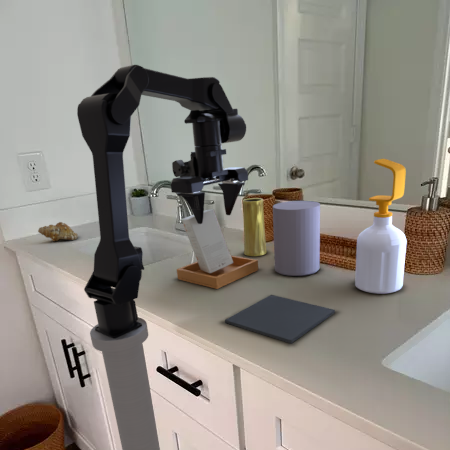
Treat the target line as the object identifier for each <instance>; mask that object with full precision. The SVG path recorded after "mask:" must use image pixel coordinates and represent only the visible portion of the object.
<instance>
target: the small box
mask: <svg viewBox="0 0 450 450" xmlns="http://www.w3.org/2000/svg"><path fill="white" fill-rule="evenodd" d="M215 211H216V210H215V209H213V208H211V209H204V214H203V222H202V224H198V223H197V221H196V219H195V216H194V214H191V215H189V216H186V217H184V218H182V219H181V224H182V225H183V226H182V227H183V228H184V231H185V234H186V236H187V239H188V241H189V243H190V246H191V248H192V251H193V254H194V257H195V259H196V262H198V264H199V267H200V269H201V270H202V271H205V272H207V273H212V272H215V271H217V270H219V269H221V268H224V267H226V266H228V265H230V264H232V263H234V262H233V260H232V257H231V254H232V253H231V252H230V249H229V246H228V244H227V241H226V238H225V236H224V232H223V230H222V228H221V225H220V222H219V219H218V216H217V214H216V212H215Z"/></svg>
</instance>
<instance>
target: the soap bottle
mask: <svg viewBox="0 0 450 450" xmlns="http://www.w3.org/2000/svg"><path fill="white" fill-rule="evenodd" d="M373 164H375V165H376V166H380V167H383V168H385V169H387V170H390V171H391V172H392V177H393V178H392V189H391V190H392V192H391V193H392V194H391V195H381V194H380V195H379V194H378V195H374V196H370V197H369V198H368V201H370V202H375V205H376V206H378V211H374V212H373V222H372V225H370V226H368V227H366V228H365V229H363V230H362V231H361V232H360V233H358V235H357V238H356V253H355V275H354V276H355V277H354V278H355V279H354V286H355V287H356V288H357V289H358V290H360V291H363V292H365V293H370V294H377V295H379V294H382V295H383V294H392V293H395V292H398V291H400V290H401V289H402V288H403V285H404V276H405V275H404V274H405V261H406V252H407V243H408V242H407V241H408V240H407V238H406V235H405V233H404V232H403V230H401V229H399V228H398V227H396V226H394V225H393V224H392V223H393V212H392V211H389V206H391V205H392V202H393V201H396V200H398V199H401V198H402V197H403V196H404V195H405V188H406V187H405V186H406V177H407V176H406V175H407V170H406V167H405V166H404V165H403V164H401V163H398V162H395V161H392V160H391V159H387V158H379V159H375V160H374V161H373Z"/></svg>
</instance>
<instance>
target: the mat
mask: <svg viewBox="0 0 450 450" xmlns="http://www.w3.org/2000/svg"><path fill="white" fill-rule="evenodd" d="M335 312H336V310H335V309H332V308H329V307H325V306H321V305H317V304H312V303H308V302H303V301H300V300H295V299H291V298H287V297H284V296H283V297H282V296H279V295H274V294H270V295H268V296H266V297H264V298H263V299H261V300H259V301H257V302H256V303H253V304H252V305H250V306H248V307H246V308H244V309H242V310H240V311H238V312H236V313H235V314H233V315H231V316H230V317H228V318H226V319H224V324H228V325H231V326H235V327H237V328H240V329H244V330H246V331H250V332H253V333H256V334H259V335H263V336H265V337H269V338H272V339H275V340H278V341H281V342H285V343H287V344H293V343H294V342H296V341H297V340H298V339H300V338H302V337H303V336H304V335H305V334H307V333H308V332H310V331H312V330H313V329H314V328H316V327H317V326H318V325H320V324H321V323H322V322H324V321H325V320H327V319H328V318H330V317H332V315H334V314H335Z"/></svg>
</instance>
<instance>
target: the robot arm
mask: <svg viewBox="0 0 450 450" xmlns="http://www.w3.org/2000/svg"><path fill="white" fill-rule="evenodd" d="M113 73H114V74H113V75H112V76H111V77H110V78H109V79H108V80H107V81H106V82H104V83H103V84H102V85H100V87H98V88H97V89H96V90H95V91H94V92H93V93H91V95H90V96H86V97H84V98H83V99H82V100H81V101H80V102H79V103H78V105H77V110H76V112H77V113H76V114H77V120H78V125H79V128H80V132H81V136H82V138H83V140H84V142H85V143H86V145H87V147H88V148H89V150H90V152H91V155H92V165H93V173H94V175H93V176H94V184H95V193H96V195H95V196H96V205H97V206H96V207H97V217H98V226H99V236H100V239H99V241H98V242H99V243H98V246H97V247H96V249H95V252H94V255H93V256H94V257H93V271H92V273H91V275H90V276H89V278H88V280H87V283H86V284H85V286H84V288H83V291H84V292H85V294H86V295H87V297H88V299H94V301H93V305H94V311H95V315H96V321H97V324H98V325H99V326H97V327H95V331H97V332H100V333H102V334H104V335H106V336H108V337H111V338H113V339H114V338H118V337H120V336H122V335H124V334H126V333H128V332H130V331H133V330H135V329H137V328H139V327H141V326H142V323H140V322H137V320H138V317H139V316H138V311H137V305H136V300H137V299H138V297H139V290H140V283H141V280H142V276H143V271H145V267H144V263H143V255H144V253H143V252H144V251H143V249H142V247H141V246H140V247H139V246H134V244H133V243H132V241H131V239H130V233H129V219H128V217H129V216H128V207H127V193H126V192H127V191H126V179H125V164H124V151H125V149H126V146H127V145H128V141H129V139H130V137H131V123H132V122H131V121H132V115H133V114H134V113H135V111H136V110H137V109H138V108H139V106H140V103H141V99H142V96H145V97H150V98H151V97H152V98H156V99H163V100H167V101H173V102H175V103H178V104H179V105H180V106H181V107H182V108H184V109H187V110H188V111H189V114H188V115H187V116H186V117H185V119H184V124H186V125H187V124H191V126H192V135H193V145H194V151H191V152H190V160H187V161H183V159H177V160H174V161H172V162H171V167H172V174H173V178H172V180H171V182H170V190H171V193H173V194H174V193H176V195H177V196H178V197H182V198H183V199H184V201H186V203H187V204H188V206H189V208H190V211H191V212H192V215H194V216H195V219H196V221H197V223H198V224H202V222H203V214H204V210H205V197H206V192H205V191H203V189H204V186H210V185H213V184H217V185H218V187H219V188H220V189H221V191H222V197H223V205H224V206H223V207H224V211H225V215H226V216H232V212H233V210H234V207H235V204H236V202H237V199H238V197H239V194H240V192H241V190H242V188H243V186H245V184H246V182H245V181H249V172H248V170H247V169H246V168H245V167H225V168H224V160H223V158H224V157H223V156H224V155H227V149H226V148H223V146H222V144H227V143H235V142H240V141H242V140H243V139H244V137H245V135H246V134H247V124H246V121H245V119H244V118H243V117H242V116H241V115H240V114H239V110H238V108H233V106H232V104H231V102H230V101H229V98H228V96H227V94H226V92H225V90H224V88H223V86H222V85H221V84H220V83H221V82H220V80H219V79H218V78H216V77H214V76H206V77H205V76H204V77H193V78H187V77H183V76H178V75H175V74H169V73H166V72H162V71H157V70H153V69H150V68H145V67H143V66H142V65H139V64H132V65H126V66H123V67H120V68H117V70H116V71H115V72H113Z"/></svg>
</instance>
